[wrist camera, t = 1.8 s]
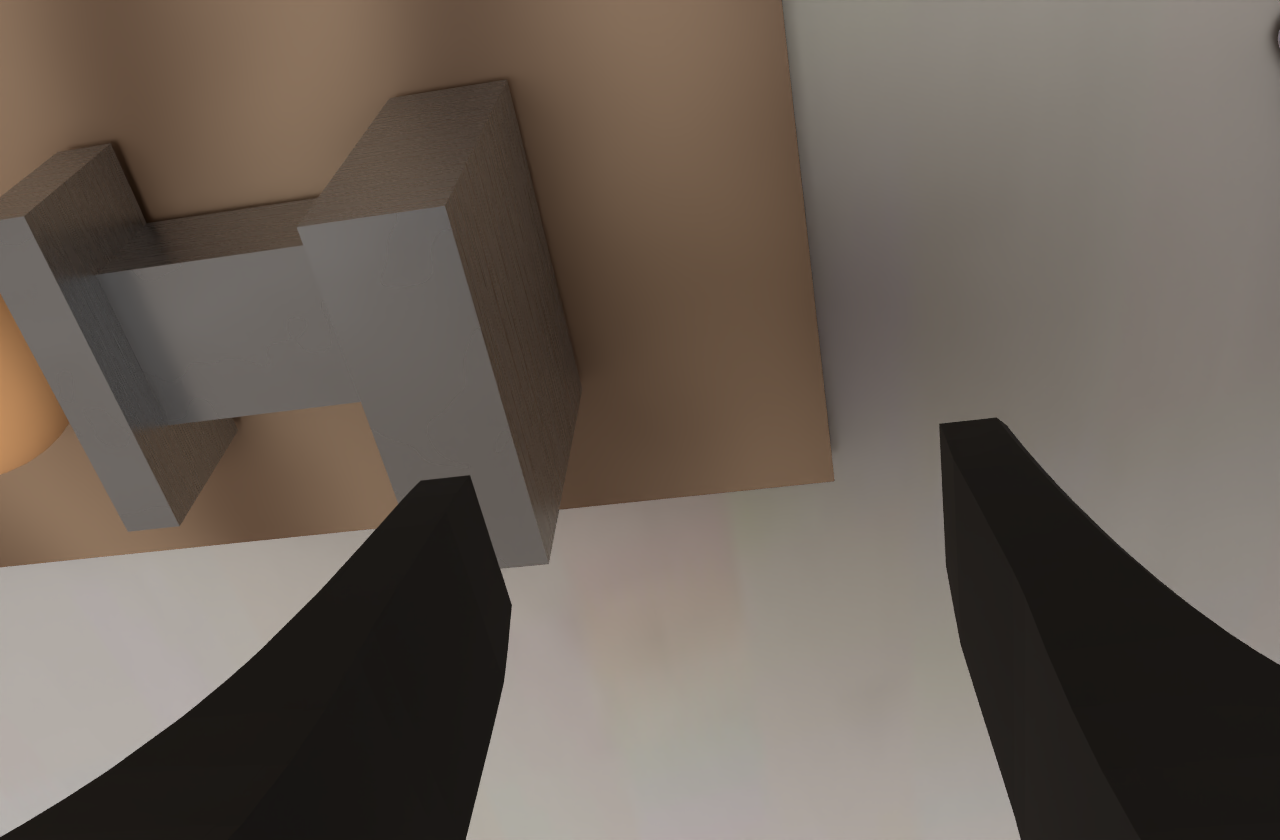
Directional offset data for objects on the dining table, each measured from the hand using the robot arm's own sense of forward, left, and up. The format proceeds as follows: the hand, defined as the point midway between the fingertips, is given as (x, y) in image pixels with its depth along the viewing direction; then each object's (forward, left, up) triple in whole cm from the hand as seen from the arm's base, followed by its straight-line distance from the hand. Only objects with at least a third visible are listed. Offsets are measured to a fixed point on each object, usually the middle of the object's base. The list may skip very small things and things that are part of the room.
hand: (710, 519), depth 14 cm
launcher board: (+5, +9, -9) cm, 14 cm away
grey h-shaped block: (+3, +6, -8) cm, 11 cm away
